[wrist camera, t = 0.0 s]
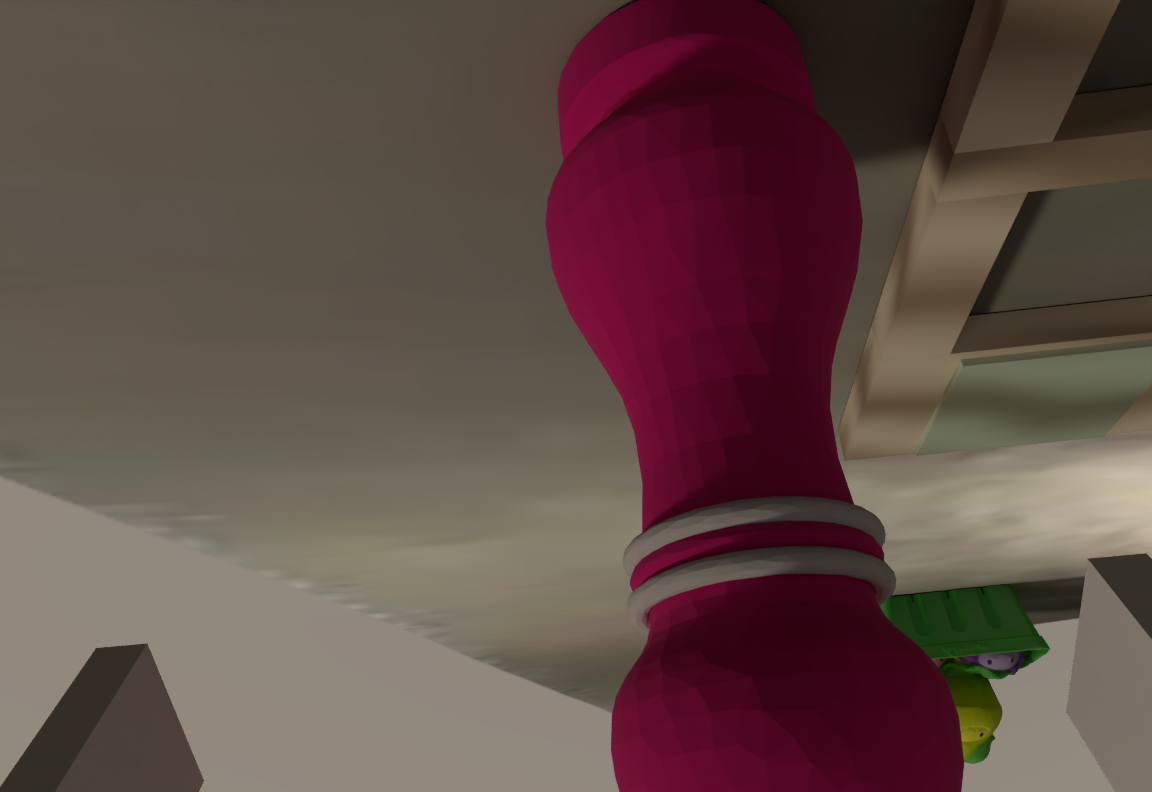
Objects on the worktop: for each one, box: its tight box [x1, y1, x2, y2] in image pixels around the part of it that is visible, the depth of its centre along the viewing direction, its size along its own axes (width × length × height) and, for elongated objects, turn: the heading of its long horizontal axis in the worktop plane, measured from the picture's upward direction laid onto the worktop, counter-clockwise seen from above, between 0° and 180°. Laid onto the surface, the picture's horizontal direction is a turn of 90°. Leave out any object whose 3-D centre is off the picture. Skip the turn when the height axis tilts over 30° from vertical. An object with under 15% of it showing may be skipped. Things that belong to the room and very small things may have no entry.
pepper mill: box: [545, 0, 964, 792], centre depth 19 cm, size 7×7×20 cm
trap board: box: [838, 0, 1152, 461], centre depth 29 cm, size 30×14×2 cm, turn 6°
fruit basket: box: [880, 584, 1050, 764], centre depth 69 cm, size 11×9×11 cm
